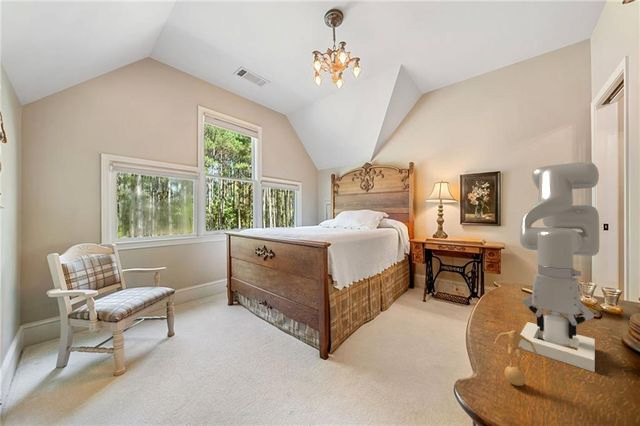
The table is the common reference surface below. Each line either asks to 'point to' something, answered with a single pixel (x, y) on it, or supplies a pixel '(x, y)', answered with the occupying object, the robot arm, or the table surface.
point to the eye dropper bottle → (556, 328)
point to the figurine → (512, 372)
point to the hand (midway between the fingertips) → (555, 332)
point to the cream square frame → (561, 348)
